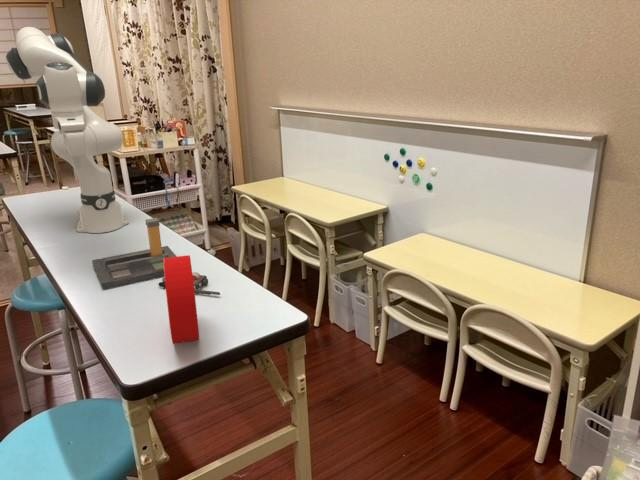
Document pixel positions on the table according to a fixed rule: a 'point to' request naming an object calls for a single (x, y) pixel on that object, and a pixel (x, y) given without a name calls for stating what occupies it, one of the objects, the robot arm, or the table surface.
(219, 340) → the table surface
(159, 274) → the grey metal board
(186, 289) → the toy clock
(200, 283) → the walkie-talkie
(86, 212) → the robot arm
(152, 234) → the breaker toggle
